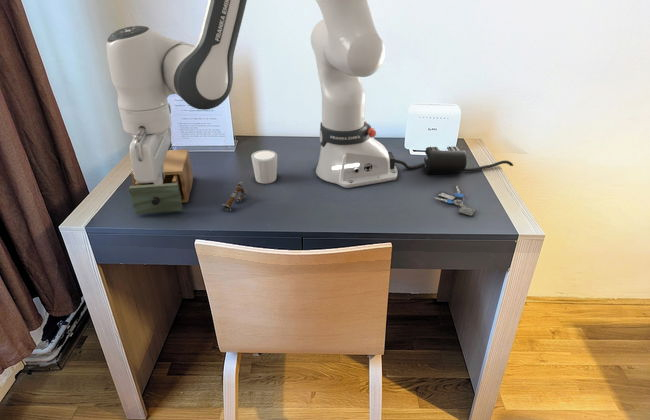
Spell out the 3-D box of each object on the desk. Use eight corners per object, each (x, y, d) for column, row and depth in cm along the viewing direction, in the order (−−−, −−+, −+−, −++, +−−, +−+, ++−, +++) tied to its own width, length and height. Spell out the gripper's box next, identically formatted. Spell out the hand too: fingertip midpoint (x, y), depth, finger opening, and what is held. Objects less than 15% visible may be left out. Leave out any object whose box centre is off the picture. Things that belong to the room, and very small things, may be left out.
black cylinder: (428, 178, 117) (431, 155, 113) (421, 166, 123) (424, 145, 119) (464, 177, 117) (468, 155, 114) (455, 166, 123) (460, 144, 120)
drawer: (181, 213, 100) (176, 187, 96) (134, 216, 98) (127, 190, 95) (187, 186, 110) (183, 163, 107) (145, 189, 109) (139, 165, 105)
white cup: (248, 182, 115) (246, 158, 111) (260, 171, 120) (258, 148, 116) (271, 186, 113) (270, 162, 109) (282, 175, 118) (281, 151, 114)
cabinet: (188, 202, 106) (182, 171, 101) (138, 205, 104) (130, 174, 100) (193, 178, 116) (188, 149, 112) (148, 181, 115) (141, 151, 110)
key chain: (478, 216, 101) (479, 213, 100) (444, 218, 100) (445, 215, 100) (457, 187, 112) (458, 184, 112) (426, 188, 112) (427, 186, 111)
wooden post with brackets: (250, 191, 108) (244, 180, 105) (234, 217, 104) (228, 206, 101) (244, 190, 109) (238, 179, 105) (228, 215, 105) (221, 204, 101)
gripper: (153, 138, 74) (167, 206, 82) (171, 101, 92) (181, 160, 99) (115, 139, 74) (132, 208, 81) (140, 102, 91) (153, 161, 98)
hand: (159, 181), depth 90 cm, fingers closed
